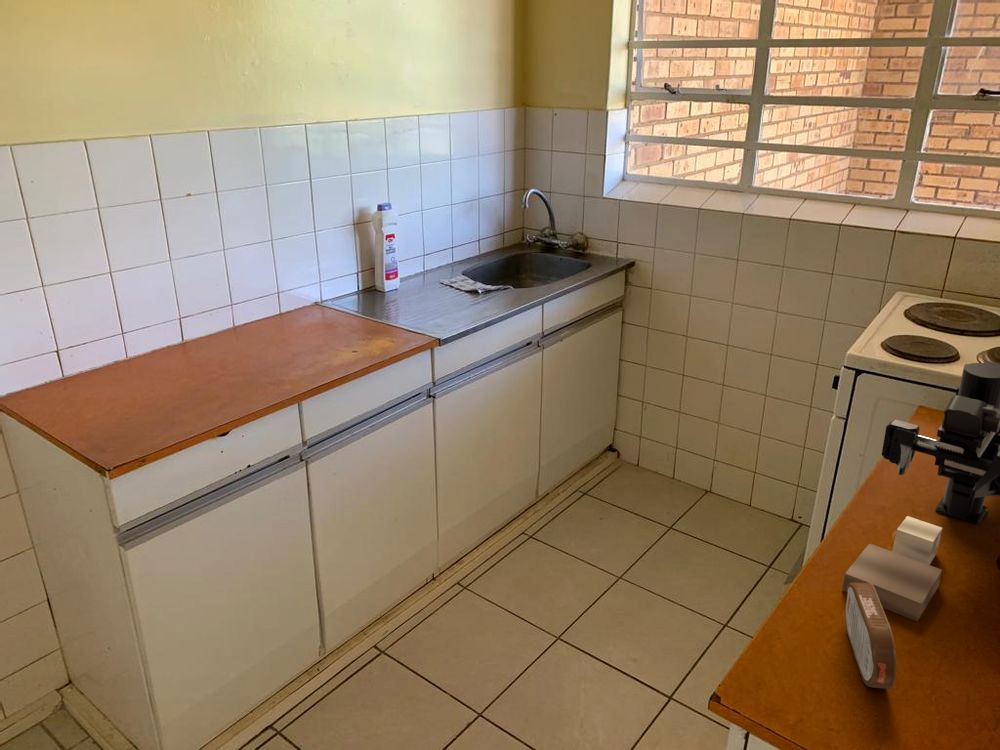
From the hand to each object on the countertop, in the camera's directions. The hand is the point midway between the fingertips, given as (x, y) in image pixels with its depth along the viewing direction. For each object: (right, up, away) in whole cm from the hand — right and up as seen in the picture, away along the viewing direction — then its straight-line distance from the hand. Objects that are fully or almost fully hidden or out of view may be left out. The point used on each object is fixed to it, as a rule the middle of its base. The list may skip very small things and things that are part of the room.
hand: (935, 482), depth 105 cm
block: (+3, -13, +11) cm, 18 cm away
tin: (-14, -21, -9) cm, 27 cm away
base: (-4, -16, +4) cm, 17 cm away
